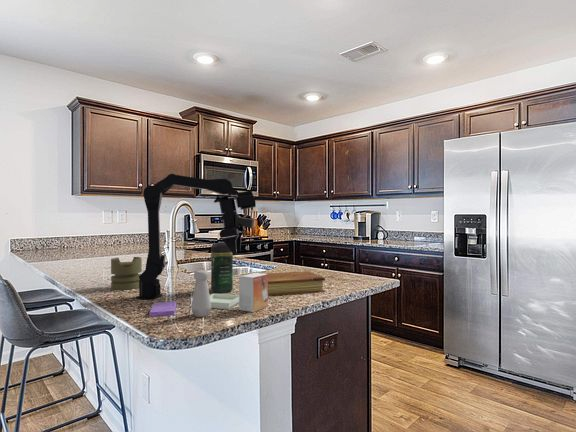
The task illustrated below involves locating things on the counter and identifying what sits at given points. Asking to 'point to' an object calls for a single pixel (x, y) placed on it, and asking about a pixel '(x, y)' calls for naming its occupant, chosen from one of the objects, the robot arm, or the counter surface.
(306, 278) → the diary
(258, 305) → the small box
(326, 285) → the counter surface
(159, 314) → the sponges
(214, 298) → the tray
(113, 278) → the piston
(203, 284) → the salt shaker
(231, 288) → the coffee jar
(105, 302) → the counter surface
